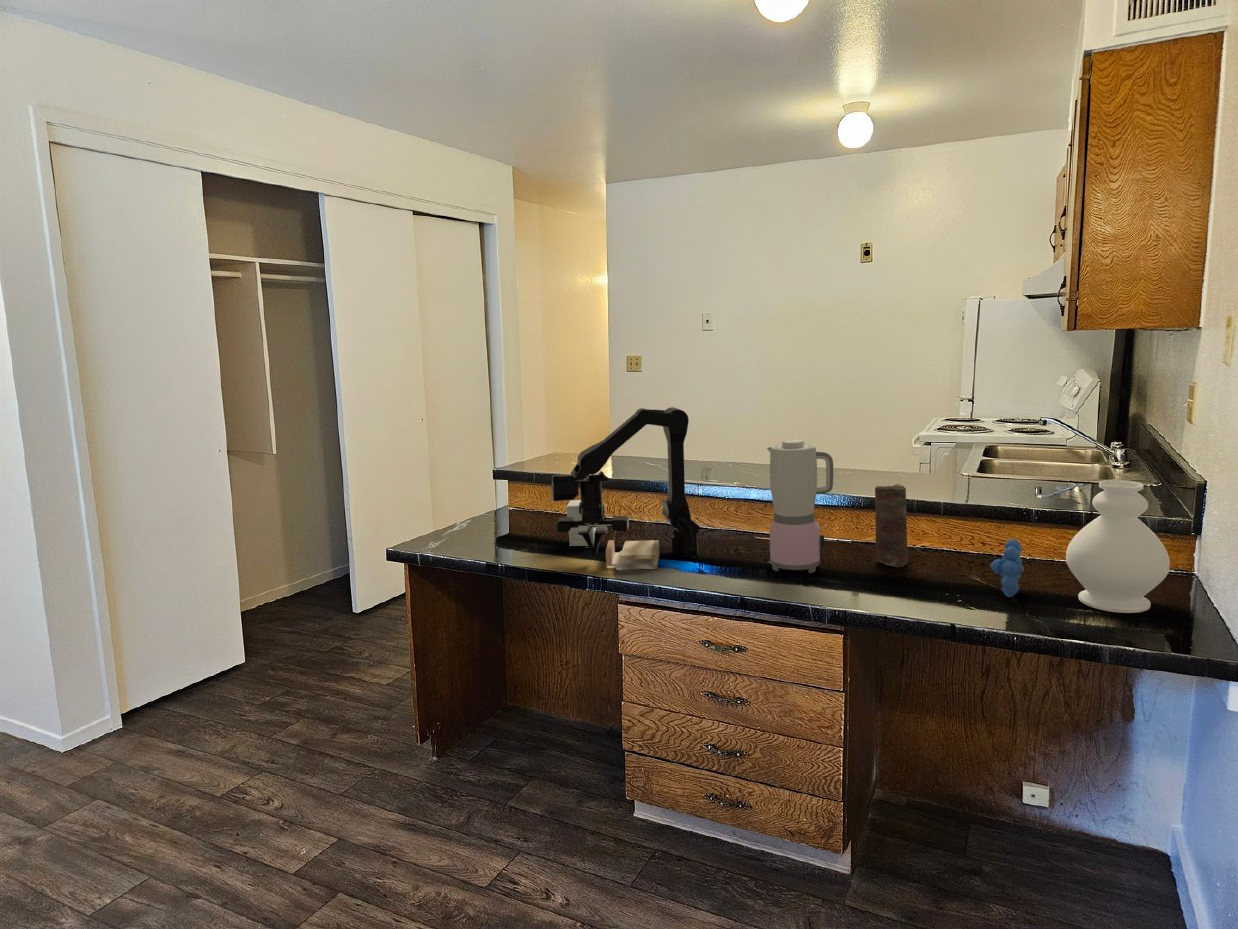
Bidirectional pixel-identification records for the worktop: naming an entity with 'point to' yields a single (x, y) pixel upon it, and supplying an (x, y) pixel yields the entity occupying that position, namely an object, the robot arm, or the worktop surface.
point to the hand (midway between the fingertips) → (594, 555)
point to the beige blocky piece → (615, 559)
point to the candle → (891, 525)
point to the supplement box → (573, 533)
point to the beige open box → (640, 553)
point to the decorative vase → (1118, 552)
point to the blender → (796, 505)
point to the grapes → (1009, 567)
